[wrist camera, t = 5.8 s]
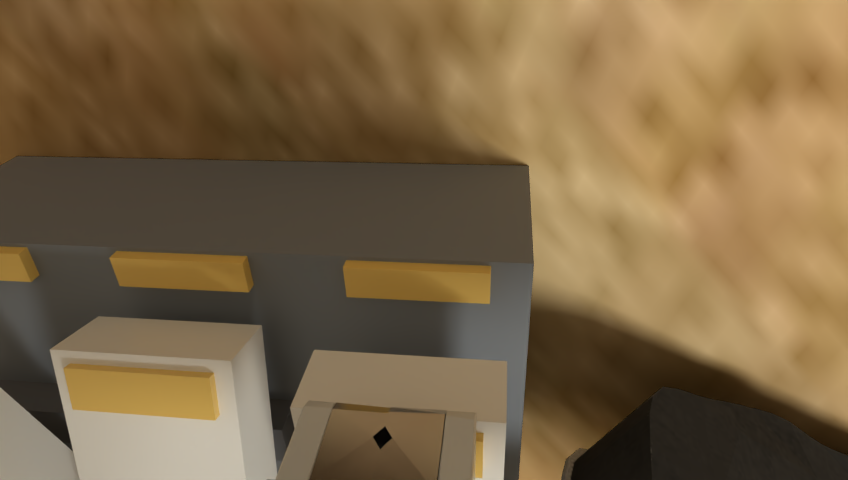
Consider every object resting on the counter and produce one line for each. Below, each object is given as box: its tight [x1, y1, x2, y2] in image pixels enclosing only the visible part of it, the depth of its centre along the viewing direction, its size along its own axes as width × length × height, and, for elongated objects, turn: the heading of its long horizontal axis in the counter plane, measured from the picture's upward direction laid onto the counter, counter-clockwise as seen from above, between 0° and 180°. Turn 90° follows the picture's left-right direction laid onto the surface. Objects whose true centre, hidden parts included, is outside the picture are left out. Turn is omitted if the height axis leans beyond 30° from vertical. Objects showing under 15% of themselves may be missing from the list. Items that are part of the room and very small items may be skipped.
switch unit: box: [0, 156, 534, 480], centre depth 18 cm, size 10×16×6 cm, turn 92°
